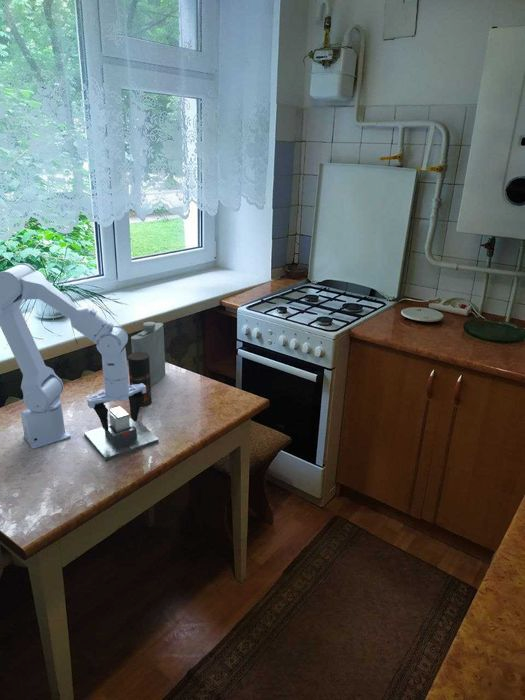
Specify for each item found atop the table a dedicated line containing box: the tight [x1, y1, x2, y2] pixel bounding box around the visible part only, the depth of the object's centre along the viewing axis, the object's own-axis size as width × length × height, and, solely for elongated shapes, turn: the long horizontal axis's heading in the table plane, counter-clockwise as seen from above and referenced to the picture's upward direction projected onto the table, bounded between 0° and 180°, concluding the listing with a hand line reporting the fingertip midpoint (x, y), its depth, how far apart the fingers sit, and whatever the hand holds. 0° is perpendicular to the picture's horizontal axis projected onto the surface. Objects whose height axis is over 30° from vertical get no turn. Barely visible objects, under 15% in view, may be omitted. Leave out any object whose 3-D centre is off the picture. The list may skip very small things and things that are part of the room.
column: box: [108, 406, 130, 434], centre depth 126 cm, size 4×5×7 cm
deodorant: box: [127, 352, 153, 409], centre depth 143 cm, size 6×6×15 cm
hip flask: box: [130, 321, 167, 388], centre depth 155 cm, size 16×4×20 cm, turn 161°
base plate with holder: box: [83, 417, 160, 462], centre depth 127 cm, size 14×14×4 cm
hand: (120, 424), depth 126 cm, fingers open, 7 cm apart
